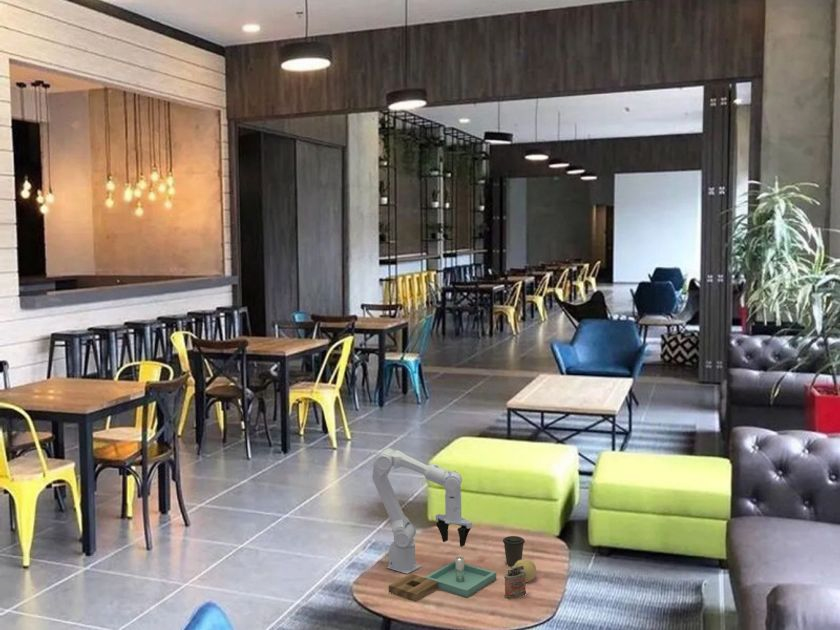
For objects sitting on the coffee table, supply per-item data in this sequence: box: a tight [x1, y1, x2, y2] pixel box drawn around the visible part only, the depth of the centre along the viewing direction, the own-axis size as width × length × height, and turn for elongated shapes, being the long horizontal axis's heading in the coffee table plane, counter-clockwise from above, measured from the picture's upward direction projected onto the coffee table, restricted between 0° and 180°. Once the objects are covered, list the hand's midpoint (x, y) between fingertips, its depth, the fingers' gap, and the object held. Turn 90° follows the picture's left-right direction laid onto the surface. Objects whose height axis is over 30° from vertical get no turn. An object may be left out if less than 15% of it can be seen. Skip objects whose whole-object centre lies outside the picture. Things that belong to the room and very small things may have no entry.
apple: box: [514, 558, 537, 583], centre depth 286 cm, size 8×8×8 cm
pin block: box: [388, 573, 439, 602], centre depth 279 cm, size 12×12×2 cm
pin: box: [454, 556, 465, 582], centre depth 285 cm, size 3×3×8 cm
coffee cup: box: [502, 535, 526, 568], centre depth 299 cm, size 8×8×10 cm
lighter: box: [503, 565, 527, 600], centre depth 274 cm, size 8×3×10 cm, turn 117°
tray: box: [423, 560, 497, 599], centre depth 285 cm, size 18×18×3 cm
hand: (453, 543), depth 293 cm, fingers open, 7 cm apart
